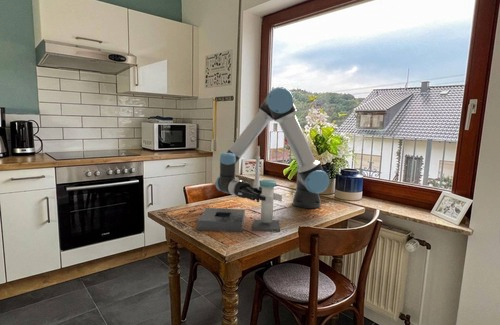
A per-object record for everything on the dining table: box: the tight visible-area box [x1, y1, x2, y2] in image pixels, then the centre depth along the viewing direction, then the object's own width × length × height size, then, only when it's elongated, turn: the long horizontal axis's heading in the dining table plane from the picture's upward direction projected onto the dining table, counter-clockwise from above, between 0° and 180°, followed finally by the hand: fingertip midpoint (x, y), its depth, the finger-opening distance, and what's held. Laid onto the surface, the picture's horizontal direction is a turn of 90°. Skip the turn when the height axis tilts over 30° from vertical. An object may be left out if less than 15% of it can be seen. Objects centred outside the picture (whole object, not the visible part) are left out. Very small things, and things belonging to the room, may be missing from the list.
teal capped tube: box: [259, 179, 277, 223], centre depth 126 cm, size 7×7×17 cm
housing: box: [197, 207, 246, 233], centre depth 129 cm, size 18×18×4 cm
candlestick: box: [253, 145, 261, 188], centre depth 184 cm, size 13×13×30 cm
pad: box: [252, 218, 281, 232], centre depth 127 cm, size 11×11×1 cm
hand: (276, 199), depth 121 cm, fingers closed on teal capped tube, 5 cm apart
